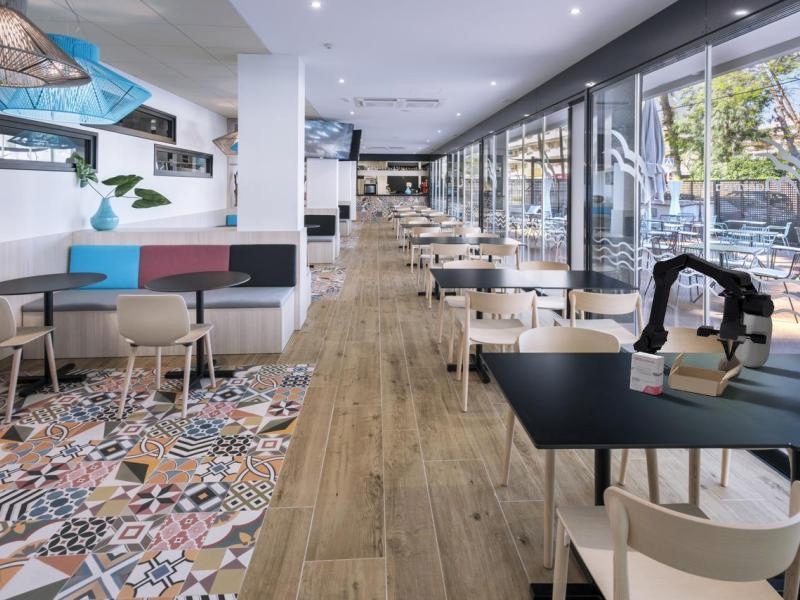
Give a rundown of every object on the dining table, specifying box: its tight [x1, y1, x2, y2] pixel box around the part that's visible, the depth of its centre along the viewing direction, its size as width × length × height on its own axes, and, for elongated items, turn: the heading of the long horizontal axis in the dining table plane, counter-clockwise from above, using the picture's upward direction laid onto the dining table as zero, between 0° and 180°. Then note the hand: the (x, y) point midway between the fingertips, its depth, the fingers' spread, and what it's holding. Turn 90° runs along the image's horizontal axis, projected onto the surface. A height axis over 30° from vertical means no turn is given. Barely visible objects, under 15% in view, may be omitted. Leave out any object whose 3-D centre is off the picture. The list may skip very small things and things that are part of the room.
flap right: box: [721, 363, 743, 382], centre depth 173 cm, size 1×12×5 cm
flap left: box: [670, 350, 686, 373], centre depth 182 cm, size 1×12×5 cm, turn 143°
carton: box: [667, 364, 729, 397], centre depth 179 cm, size 15×17×4 cm
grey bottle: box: [735, 291, 773, 369], centre depth 200 cm, size 10×10×28 cm
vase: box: [717, 353, 742, 381], centre depth 188 cm, size 7×7×9 cm
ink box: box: [629, 352, 665, 396], centre depth 174 cm, size 9×5×12 cm, turn 39°
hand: (729, 361), depth 173 cm, fingers closed
